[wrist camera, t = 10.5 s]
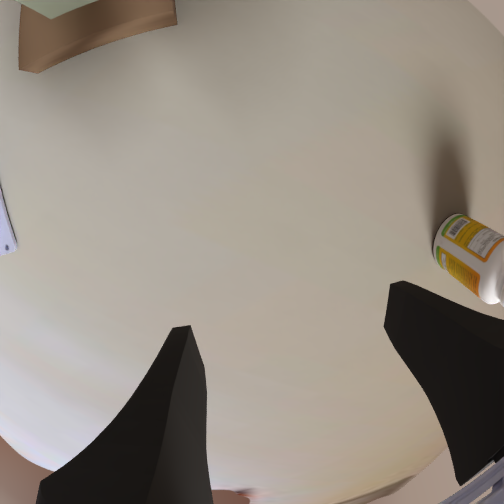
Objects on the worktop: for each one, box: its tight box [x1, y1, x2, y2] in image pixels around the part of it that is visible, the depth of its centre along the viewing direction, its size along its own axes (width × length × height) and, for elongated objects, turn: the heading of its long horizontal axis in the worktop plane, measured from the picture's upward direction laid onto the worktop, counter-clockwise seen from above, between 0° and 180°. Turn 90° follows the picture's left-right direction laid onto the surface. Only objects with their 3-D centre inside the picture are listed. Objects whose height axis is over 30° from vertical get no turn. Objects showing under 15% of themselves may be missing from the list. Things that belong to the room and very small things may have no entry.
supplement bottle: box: [433, 214, 504, 307], centre depth 18 cm, size 5×5×10 cm
